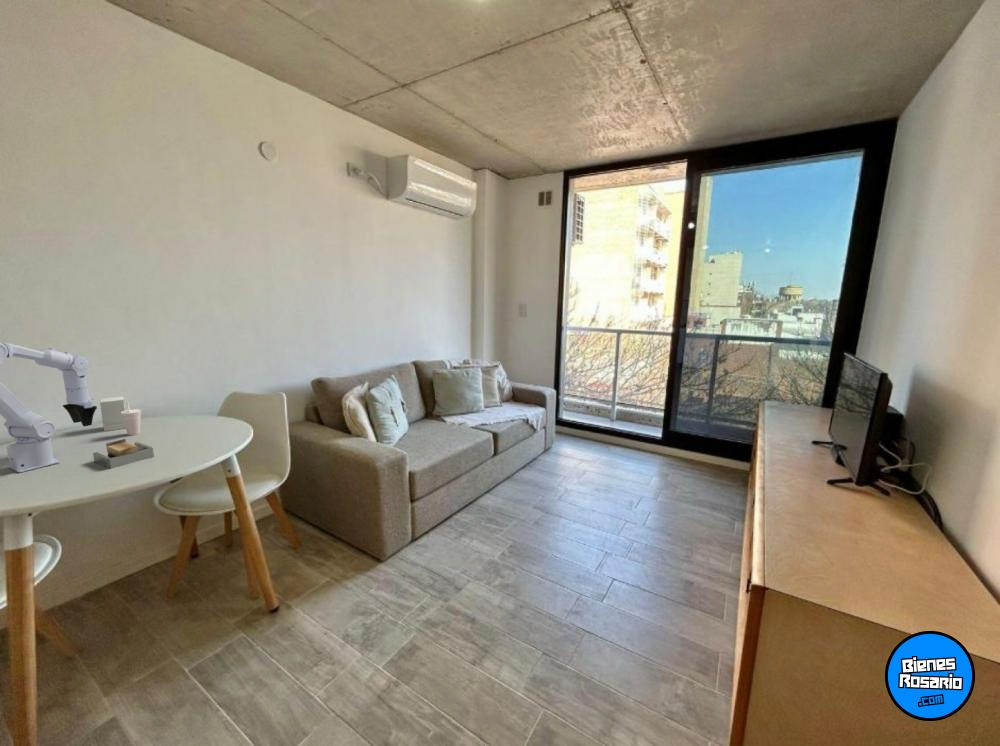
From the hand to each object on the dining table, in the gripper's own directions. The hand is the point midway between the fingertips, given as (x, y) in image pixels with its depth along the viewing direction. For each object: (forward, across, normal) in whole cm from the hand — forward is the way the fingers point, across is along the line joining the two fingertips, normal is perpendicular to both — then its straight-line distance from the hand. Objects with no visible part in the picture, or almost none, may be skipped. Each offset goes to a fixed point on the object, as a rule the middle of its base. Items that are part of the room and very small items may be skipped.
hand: (82, 423), depth 149 cm
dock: (+9, -23, -2) cm, 25 cm away
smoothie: (+10, +4, -16) cm, 19 cm away
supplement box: (+10, +19, -16) cm, 27 cm away
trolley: (+9, -22, -2) cm, 24 cm away
